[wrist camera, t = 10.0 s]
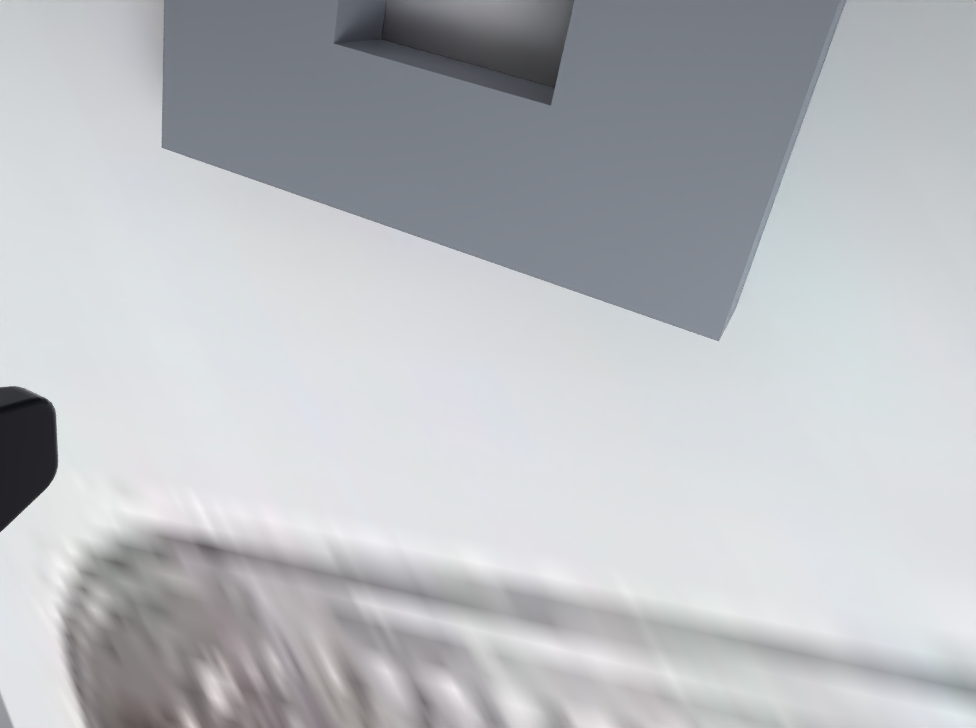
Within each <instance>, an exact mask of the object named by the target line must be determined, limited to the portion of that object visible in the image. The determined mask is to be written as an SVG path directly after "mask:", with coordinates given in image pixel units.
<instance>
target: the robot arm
mask: <svg viewBox="0 0 976 728" xmlns="http://www.w3.org/2000/svg"><path fill="white" fill-rule="evenodd" d="M57 468H58V447H57V425H56V412H55V408H54V406H53V405H52V403H51V402H50V401H49V400H48V399H46V398H44V397H42V396H40V395H37V394H35V393H33V392H31V391H29V390H27V389H25V388H21V387H16V386H10V387H0V532H1V531H2V530H3V529H4V528H5V527H6V526H7V525H9V524H10V523H11V522H12V521H13V520H14V519H15V518H16V517H17V516H18V515H19V514H20V513H21V512H22V511H23V510H24V509H25V508H26V507H27V506H28V505H30V504H31V503H32V502H33V501H34V500H35V499H36V498H37V497H38V496H39V495H40V494H41V493H42V492H43V491H44V490H45V489H46V488H47V487H48V486H49V485H50V483H51V482H52V480H53V479H54V477H55V474H56V472H57Z"/></svg>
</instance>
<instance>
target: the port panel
mask: <svg viewBox="0 0 976 728" xmlns="http://www.w3.org/2000/svg"><path fill="white" fill-rule="evenodd" d="M845 2H846V0H574V4H573V9H572V13H571V18H570V22H569V27H568V31H567V36H566V40H565V45H564V49H563V54H562V58H561V62H560V67H559V71H558V76H557V80H556V85H555V88H554V87H551V86H547V85H543V84H540V83H536V82H533V81H529V80H526V79H522V78H518V77H515V76H511V75H508V74H504V73H500V72H497V71H493V70H490V69H486V68H483V67H479V66H475V65H472V64H468V63H465V62H461V61H458V60H454V59H450V58H447V57H443V56H440V55H436V54H432V53H429V52H425V51H422V50H418V49H415V48H411V47H407V46H404V45H400V44H397V43H393V42H390V41H386V40H382V39H381V38H382V30H383V23H384V15H385V7H386V0H164V50H163V106H162V148H164V149H167V150H170V151H173V152H176V153H179V154H182V155H184V156H187V157H190V158H193V159H196V160H199V161H202V162H205V163H207V164H210V165H213V166H216V167H219V168H222V169H225V170H228V171H230V172H233V173H236V174H239V175H242V176H245V177H248V178H251V179H253V180H256V181H259V182H262V183H265V184H268V185H271V186H274V187H276V188H279V189H282V190H285V191H288V192H291V193H294V194H297V195H299V196H302V197H305V198H308V199H311V200H314V201H317V202H320V203H322V204H325V205H328V206H331V207H334V208H337V209H340V210H343V211H346V212H348V213H351V214H354V215H357V216H360V217H363V218H366V219H369V220H371V221H374V222H377V223H380V224H383V225H386V226H389V227H392V228H394V229H397V230H400V231H403V232H406V233H409V234H412V235H415V236H417V237H420V238H423V239H426V240H429V241H432V242H435V243H438V244H440V245H443V246H446V247H449V248H452V249H455V250H458V251H461V252H463V253H466V254H469V255H472V256H475V257H478V258H481V259H484V260H486V261H489V262H492V263H495V264H498V265H501V266H504V267H507V268H509V269H512V270H515V271H518V272H521V273H524V274H527V275H530V276H532V277H535V278H538V279H541V280H544V281H547V282H550V283H553V284H555V285H558V286H561V287H564V288H567V289H570V290H573V291H576V292H578V293H581V294H584V295H587V296H590V297H593V298H596V299H599V300H601V301H604V302H607V303H610V304H613V305H616V306H619V307H622V308H625V309H627V310H630V311H633V312H636V313H639V314H642V315H645V316H648V317H650V318H653V319H656V320H659V321H662V322H665V323H668V324H671V325H673V326H676V327H679V328H682V329H685V330H688V331H691V332H694V333H696V334H699V335H702V336H705V337H708V338H711V339H714V340H717V341H719V340H720V338H721V336H722V334H723V332H724V330H725V328H726V326H727V324H728V323H729V321H730V319H731V317H732V315H733V313H734V311H735V309H736V306H737V303H738V300H739V297H740V295H741V292H742V289H743V286H744V284H745V281H746V278H747V275H748V272H749V270H750V267H751V264H752V261H753V258H754V256H755V253H756V250H757V247H758V244H759V242H760V239H761V236H762V233H763V230H764V228H765V225H766V222H767V219H768V217H769V214H770V211H771V208H772V205H773V203H774V200H775V197H776V194H777V191H778V189H779V186H780V183H781V180H782V177H783V175H784V172H785V169H786V166H787V163H788V161H789V158H790V155H791V152H792V149H793V147H794V144H795V141H796V138H797V136H798V133H799V130H800V127H801V124H802V122H803V119H804V116H805V113H806V110H807V108H808V105H809V102H810V99H811V96H812V94H813V91H814V88H815V85H816V82H817V80H818V77H819V74H820V71H821V69H822V66H823V63H824V60H825V57H826V55H827V52H828V49H829V46H830V43H831V41H832V38H833V35H834V32H835V29H836V27H837V24H838V21H839V18H840V15H841V13H842V10H843V7H844V4H845Z"/></svg>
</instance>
